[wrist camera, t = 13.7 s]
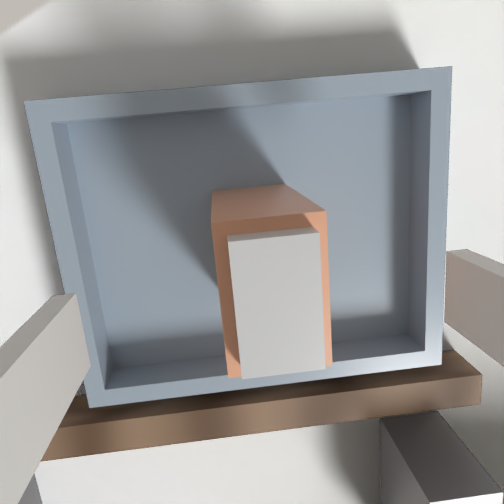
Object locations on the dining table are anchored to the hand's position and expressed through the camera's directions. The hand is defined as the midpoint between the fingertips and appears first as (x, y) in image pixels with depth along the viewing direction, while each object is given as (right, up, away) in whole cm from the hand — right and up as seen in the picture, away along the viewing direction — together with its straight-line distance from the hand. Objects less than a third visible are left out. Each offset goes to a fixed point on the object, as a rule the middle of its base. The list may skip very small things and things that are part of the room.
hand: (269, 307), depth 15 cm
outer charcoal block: (+10, -13, +15) cm, 23 cm away
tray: (-1, +3, +10) cm, 10 cm away
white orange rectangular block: (-1, +3, +9) cm, 9 cm away
